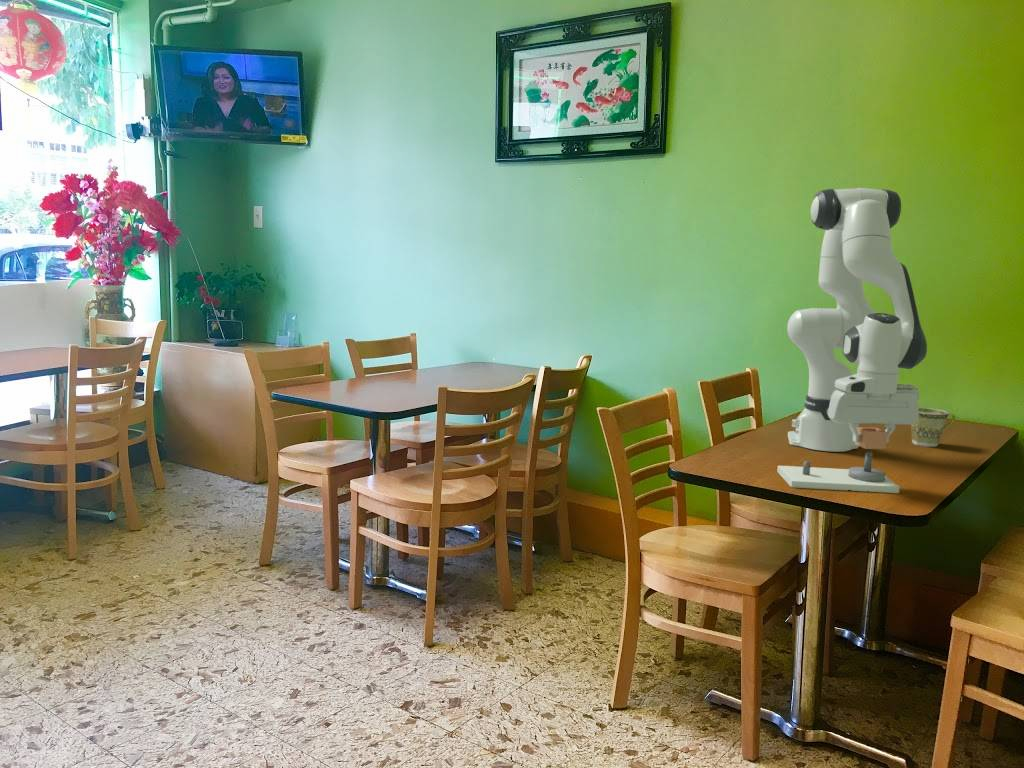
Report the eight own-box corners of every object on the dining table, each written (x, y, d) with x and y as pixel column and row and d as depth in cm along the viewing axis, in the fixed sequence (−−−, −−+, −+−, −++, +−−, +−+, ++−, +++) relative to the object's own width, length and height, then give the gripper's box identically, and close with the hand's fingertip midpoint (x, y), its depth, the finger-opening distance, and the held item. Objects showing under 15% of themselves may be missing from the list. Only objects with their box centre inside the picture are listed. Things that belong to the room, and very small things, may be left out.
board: (777, 471, 201) (779, 440, 200) (877, 476, 199) (880, 445, 198) (791, 487, 187) (794, 454, 186) (898, 493, 185) (902, 460, 184)
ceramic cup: (917, 448, 232) (921, 413, 230) (899, 440, 242) (903, 407, 240) (961, 448, 233) (965, 414, 231) (941, 440, 242) (945, 408, 241)
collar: (854, 443, 193) (856, 427, 193) (875, 444, 194) (877, 427, 193) (864, 448, 188) (866, 431, 188) (885, 449, 189) (887, 432, 188)
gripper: (912, 382, 192) (906, 439, 194) (828, 380, 191) (822, 437, 194) (927, 387, 186) (920, 445, 188) (840, 384, 185) (834, 443, 187)
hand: (870, 441), depth 191 cm, fingers closed on collar, 5 cm apart
